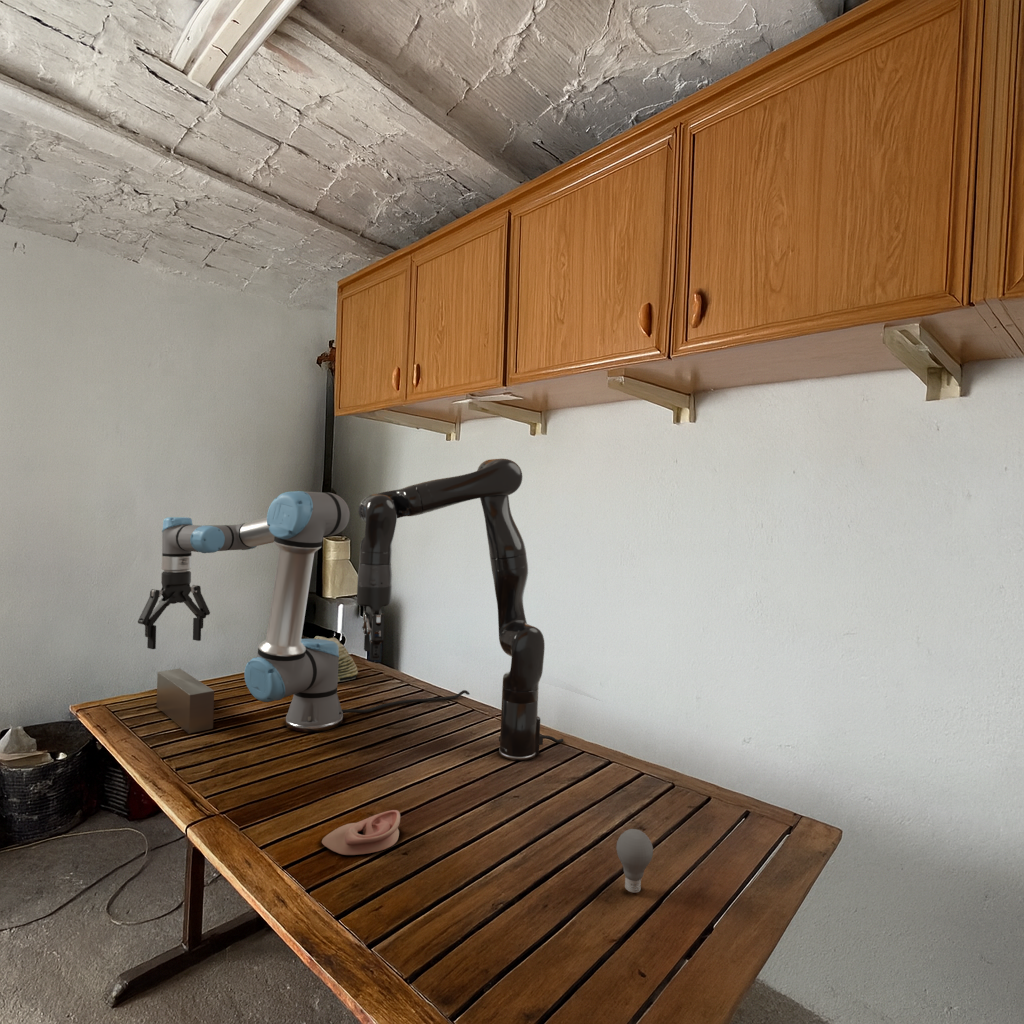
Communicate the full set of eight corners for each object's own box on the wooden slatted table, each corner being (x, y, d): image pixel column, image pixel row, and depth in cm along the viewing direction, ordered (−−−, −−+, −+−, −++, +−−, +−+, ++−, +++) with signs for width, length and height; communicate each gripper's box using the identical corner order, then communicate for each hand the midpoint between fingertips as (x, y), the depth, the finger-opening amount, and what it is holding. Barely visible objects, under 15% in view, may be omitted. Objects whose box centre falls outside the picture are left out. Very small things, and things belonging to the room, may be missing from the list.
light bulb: (610, 879, 108) (613, 822, 108) (644, 879, 109) (647, 822, 109) (619, 902, 102) (622, 840, 102) (655, 901, 103) (658, 840, 103)
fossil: (298, 680, 214) (300, 636, 214) (348, 672, 226) (350, 630, 226) (309, 687, 207) (311, 641, 207) (360, 678, 220) (362, 635, 220)
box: (156, 706, 184) (157, 671, 183) (178, 702, 188) (180, 668, 188) (188, 733, 165) (190, 695, 164) (213, 728, 169) (214, 690, 169)
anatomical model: (313, 828, 113) (343, 799, 125) (313, 850, 113) (342, 819, 125) (383, 839, 111) (407, 808, 122) (382, 862, 111) (406, 829, 122)
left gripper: (140, 575, 170) (138, 654, 170) (223, 568, 191) (221, 638, 192) (124, 573, 173) (123, 650, 174) (207, 566, 195) (206, 635, 195)
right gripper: (397, 587, 137) (394, 662, 137) (385, 579, 150) (383, 647, 150) (362, 588, 134) (359, 664, 134) (353, 579, 147) (350, 648, 147)
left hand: (174, 644), depth 183 cm, fingers open, 13 cm apart
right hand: (371, 655), depth 142 cm, fingers open, 8 cm apart
